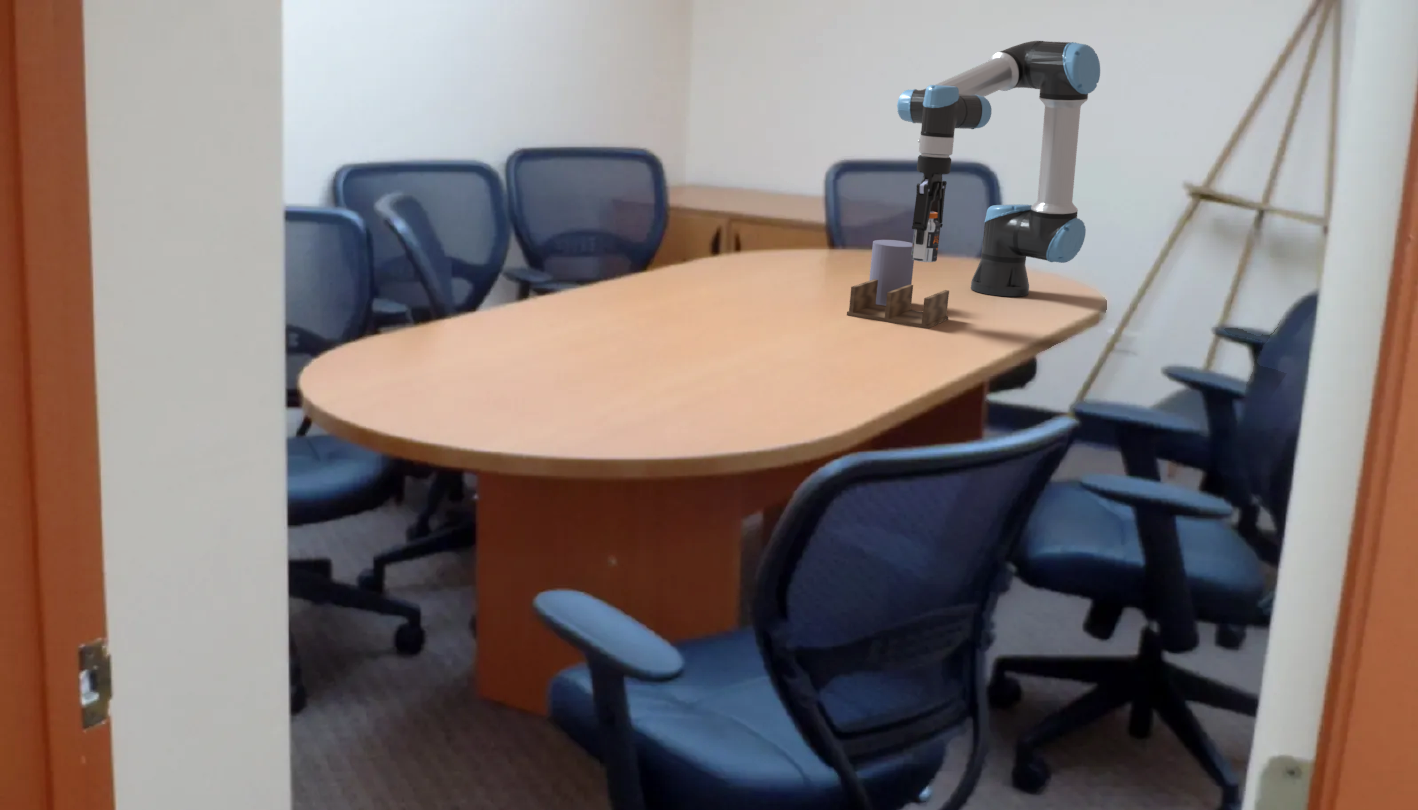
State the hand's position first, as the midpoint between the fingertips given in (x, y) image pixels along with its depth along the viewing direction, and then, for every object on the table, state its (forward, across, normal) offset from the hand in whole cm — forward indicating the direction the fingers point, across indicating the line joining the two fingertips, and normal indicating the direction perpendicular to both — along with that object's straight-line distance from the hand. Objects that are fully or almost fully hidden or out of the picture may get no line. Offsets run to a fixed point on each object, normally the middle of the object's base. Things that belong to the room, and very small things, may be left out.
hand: (924, 256), depth 312 cm
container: (+15, -14, -13) cm, 24 cm away
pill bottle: (+1, 0, 0) cm, 1 cm away
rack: (+15, 0, -5) cm, 16 cm away
